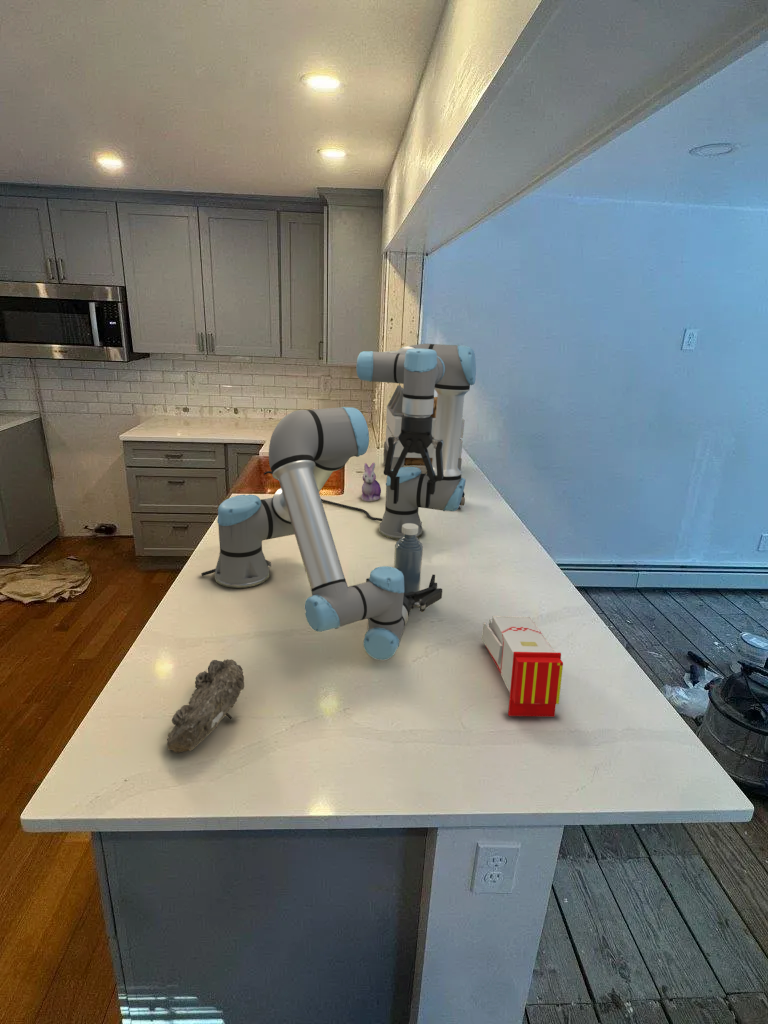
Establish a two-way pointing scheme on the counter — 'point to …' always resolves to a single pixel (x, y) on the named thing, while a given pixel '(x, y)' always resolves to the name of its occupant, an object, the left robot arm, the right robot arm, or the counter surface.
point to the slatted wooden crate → (394, 429)
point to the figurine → (370, 484)
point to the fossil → (206, 705)
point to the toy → (525, 665)
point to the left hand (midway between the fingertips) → (408, 575)
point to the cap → (410, 529)
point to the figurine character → (462, 501)
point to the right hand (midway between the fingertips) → (411, 503)
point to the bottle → (409, 561)
